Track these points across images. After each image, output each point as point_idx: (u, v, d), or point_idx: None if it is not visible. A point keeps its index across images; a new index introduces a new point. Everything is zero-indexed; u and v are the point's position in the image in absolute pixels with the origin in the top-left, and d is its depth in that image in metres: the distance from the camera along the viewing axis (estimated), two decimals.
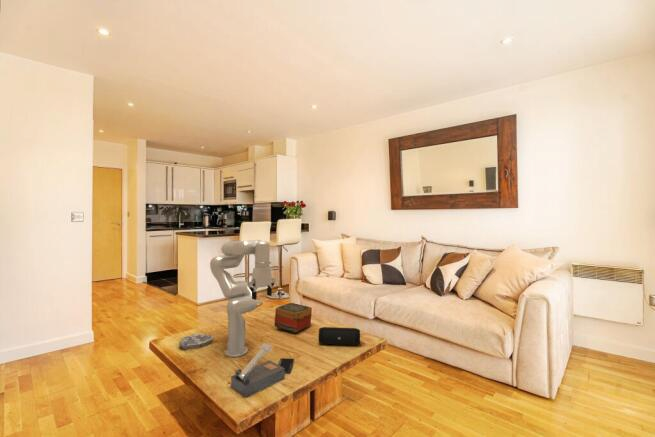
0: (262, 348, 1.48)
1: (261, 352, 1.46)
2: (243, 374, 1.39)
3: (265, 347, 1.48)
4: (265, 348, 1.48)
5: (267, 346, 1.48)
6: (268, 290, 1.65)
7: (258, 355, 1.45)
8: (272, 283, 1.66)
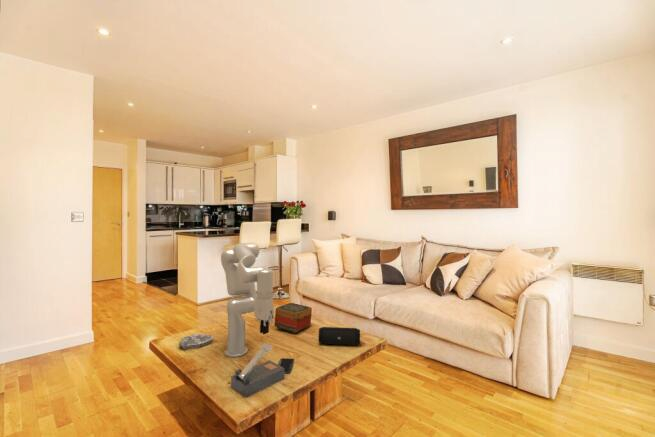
0: (262, 348, 1.48)
1: (261, 352, 1.46)
2: (243, 374, 1.39)
3: (265, 347, 1.48)
4: (265, 348, 1.48)
5: (267, 346, 1.48)
6: None
7: (258, 355, 1.45)
8: None
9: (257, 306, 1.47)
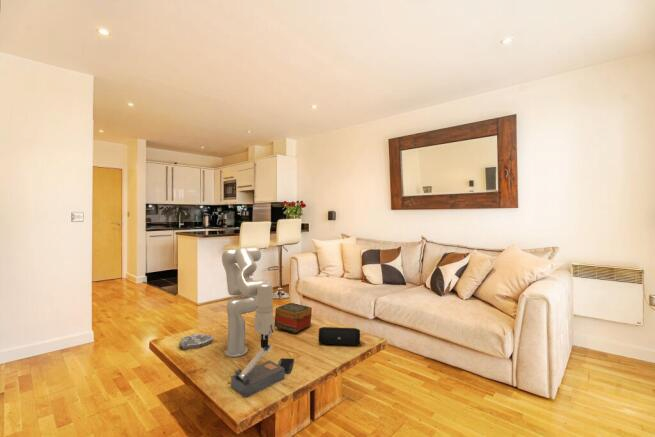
0: (262, 348, 1.48)
1: (261, 352, 1.46)
2: (243, 374, 1.39)
3: (265, 347, 1.48)
4: (265, 348, 1.48)
5: None
6: None
7: (258, 355, 1.46)
8: None
9: (257, 320, 1.47)
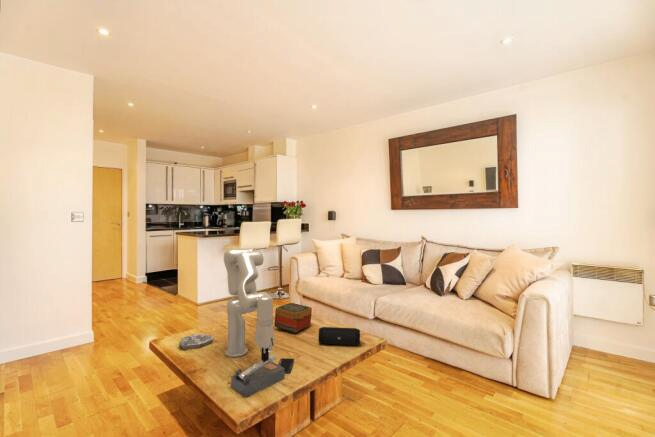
0: None
1: None
2: (244, 374, 1.39)
3: (269, 356, 1.50)
4: (269, 357, 1.50)
5: (271, 356, 1.50)
6: None
7: (261, 362, 1.47)
8: None
9: (257, 333, 1.47)
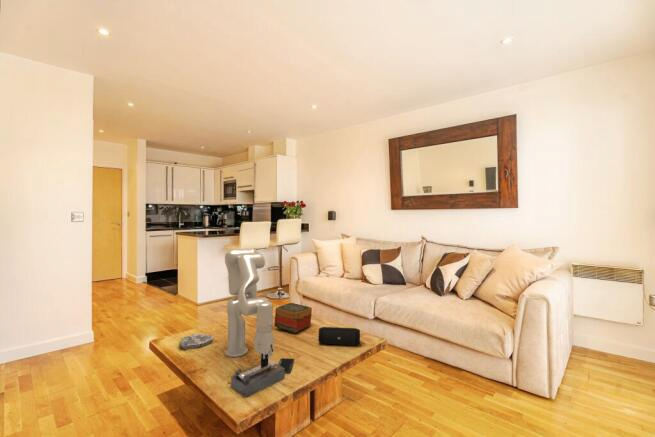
0: None
1: None
2: (244, 374, 1.39)
3: (270, 363, 1.51)
4: (270, 363, 1.50)
5: (272, 363, 1.51)
6: None
7: None
8: None
9: (257, 339, 1.47)
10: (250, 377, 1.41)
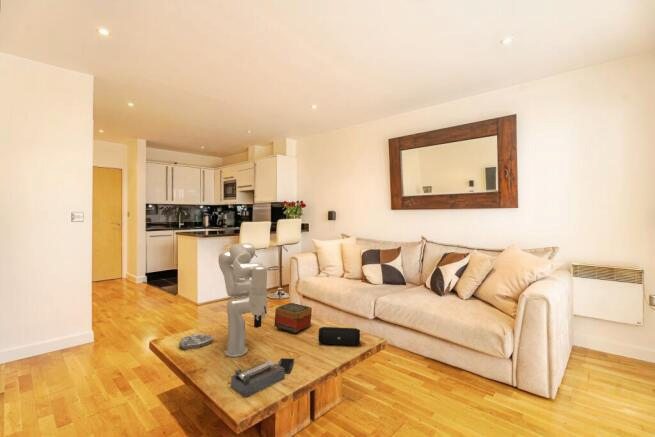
0: (267, 363, 1.51)
1: (265, 365, 1.48)
2: (244, 374, 1.39)
3: (270, 363, 1.51)
4: (270, 363, 1.50)
5: (272, 363, 1.51)
6: None
7: (262, 366, 1.47)
8: None
9: (251, 301, 1.52)
10: (250, 377, 1.41)
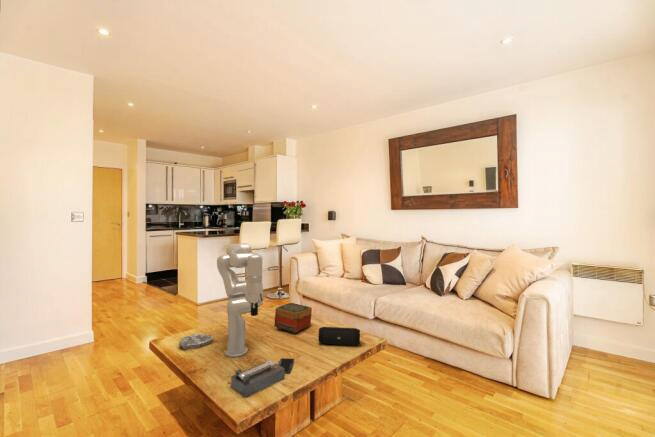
0: (267, 363, 1.51)
1: (265, 365, 1.48)
2: (244, 374, 1.39)
3: (270, 363, 1.51)
4: (270, 363, 1.50)
5: (272, 363, 1.51)
6: None
7: (262, 366, 1.47)
8: None
9: (247, 290, 1.55)
10: (250, 377, 1.41)
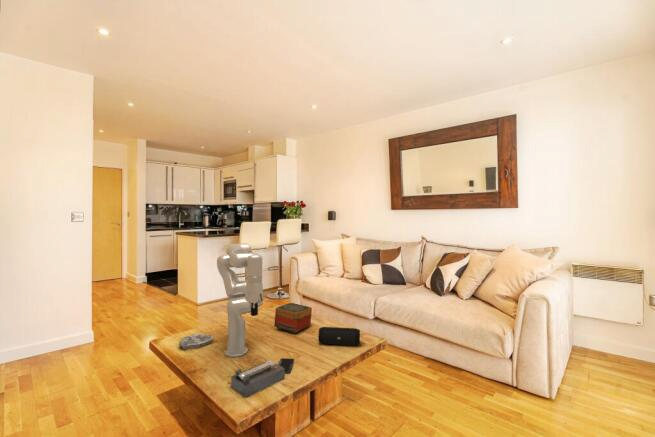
0: (267, 363, 1.51)
1: (265, 365, 1.48)
2: (244, 374, 1.39)
3: (270, 363, 1.51)
4: (270, 363, 1.50)
5: (272, 363, 1.51)
6: None
7: (262, 366, 1.47)
8: None
9: (247, 290, 1.55)
10: (250, 377, 1.41)
